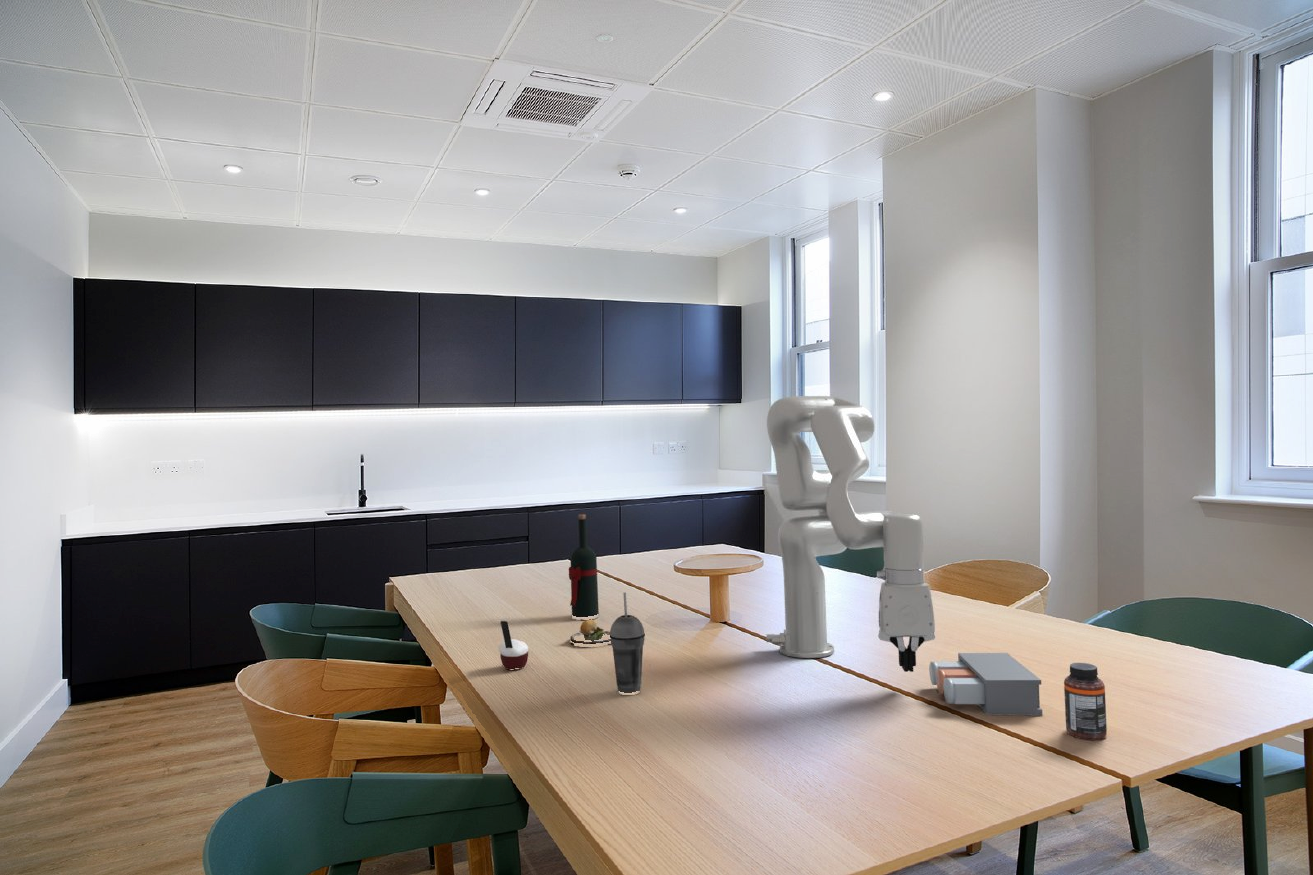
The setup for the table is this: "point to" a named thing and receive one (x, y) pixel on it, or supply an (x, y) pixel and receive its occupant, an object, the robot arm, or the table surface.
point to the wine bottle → (583, 576)
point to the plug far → (944, 668)
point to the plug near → (964, 691)
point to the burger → (590, 633)
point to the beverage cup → (627, 651)
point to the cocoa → (512, 650)
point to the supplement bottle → (1085, 702)
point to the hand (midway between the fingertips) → (907, 669)
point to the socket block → (1004, 684)
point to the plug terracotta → (951, 676)
